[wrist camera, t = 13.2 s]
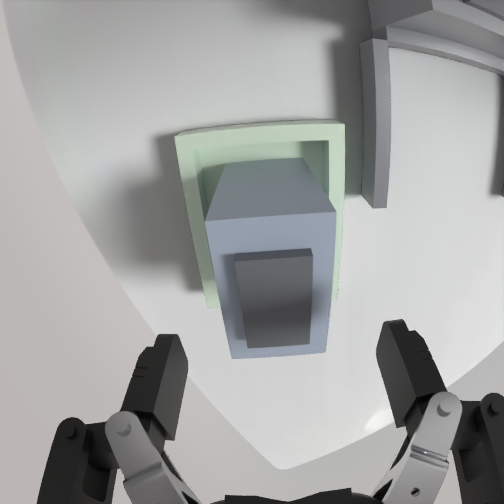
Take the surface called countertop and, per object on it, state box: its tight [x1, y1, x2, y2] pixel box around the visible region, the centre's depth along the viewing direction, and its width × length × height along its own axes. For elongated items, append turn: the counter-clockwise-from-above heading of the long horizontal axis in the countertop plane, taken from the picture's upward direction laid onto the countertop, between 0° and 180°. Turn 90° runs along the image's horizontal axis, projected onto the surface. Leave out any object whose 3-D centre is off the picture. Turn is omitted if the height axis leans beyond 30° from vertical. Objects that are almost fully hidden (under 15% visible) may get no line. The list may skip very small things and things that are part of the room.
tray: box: [174, 120, 345, 308], centre depth 20 cm, size 10×13×2 cm
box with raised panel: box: [205, 158, 337, 359], centre depth 17 cm, size 5×8×10 cm, turn 5°
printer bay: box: [359, 0, 504, 208], centre depth 12 cm, size 16×18×9 cm
